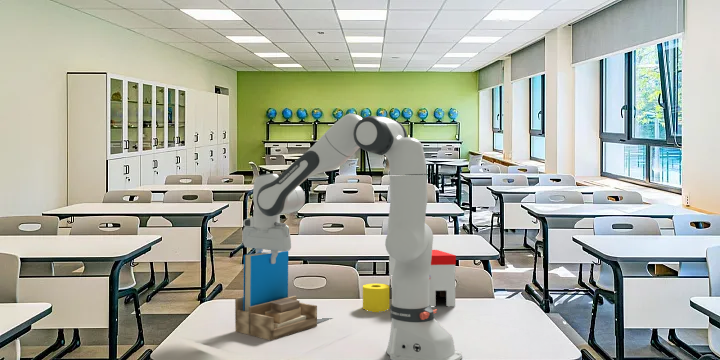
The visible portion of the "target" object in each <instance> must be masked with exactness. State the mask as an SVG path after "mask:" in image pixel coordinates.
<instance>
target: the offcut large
mask: <svg viewBox="0 0 720 360" xmlns="http://www.w3.org/2000/svg"><path fill="white" fill-rule="evenodd" d="M303 320H306V316H305V315H301V317H298V318H295V319H292V320H289V321H287V322H284V323H281V324H278V323H274V329H276V328H279V327H282V326H286V325H289V324H293V323H296V322H300V321H303Z"/></svg>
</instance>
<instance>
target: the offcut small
mask: <svg viewBox="0 0 720 360" xmlns="http://www.w3.org/2000/svg"><path fill="white" fill-rule="evenodd" d="M299 302H300V300H293V299H285V300H281V301H276V302H272V303H271V310H272V311H276V312H280V313H282V312H286V311H290V310H294V309H298V308H299Z"/></svg>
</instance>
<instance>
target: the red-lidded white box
mask: <svg viewBox="0 0 720 360" xmlns="http://www.w3.org/2000/svg"><path fill="white" fill-rule="evenodd" d="M388 255H389V254H388ZM388 259H389V262H388V263H389V265H388V266H389V267H388V269H389V270H388V271H389V273H388V274H389V276H388V277H389V282H388V283H389V284H388V285H389V286H390V279H391V275H393V273H394V267H395V261H396V259H394V258H392V257H391V256H390V255H389V258H388ZM456 263H457V256H456V255H455V254H453V253H449V252H445V251H442V250H440V249H432V258H431V267H430V275H429V305H430V306H436V301H437V300H436V298H437V297H436V295H438V296H439V297H440V298H445V299H446V300H445V301H446V302H445V307H446V306H455V307H456V265H457V264H456Z"/></svg>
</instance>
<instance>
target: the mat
mask: <svg viewBox="0 0 720 360" xmlns="http://www.w3.org/2000/svg"><path fill="white" fill-rule="evenodd" d="M329 319H330V320H332V319H333V318H322V319H317V325H318V324H322V323H324V322H326V321H327V322H328V321H329Z"/></svg>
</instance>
